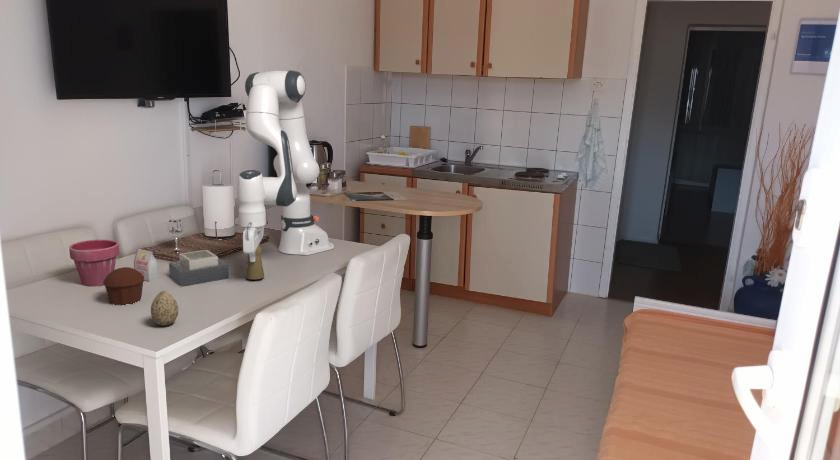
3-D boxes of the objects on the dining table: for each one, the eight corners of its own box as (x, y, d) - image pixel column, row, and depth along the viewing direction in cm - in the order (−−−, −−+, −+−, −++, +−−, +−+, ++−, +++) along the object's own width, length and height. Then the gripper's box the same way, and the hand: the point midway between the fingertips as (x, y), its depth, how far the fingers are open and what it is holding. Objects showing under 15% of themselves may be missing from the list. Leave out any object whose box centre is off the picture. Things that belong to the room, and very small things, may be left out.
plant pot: (99, 272, 212) (96, 236, 209) (131, 278, 208) (128, 242, 205) (62, 284, 200) (58, 246, 196) (95, 291, 195) (91, 253, 192)
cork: (266, 273, 215) (265, 243, 212) (261, 279, 209) (259, 248, 207) (249, 273, 216) (247, 242, 213) (243, 279, 210) (242, 248, 207)
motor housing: (215, 268, 221) (214, 247, 219) (229, 278, 212) (228, 256, 210) (169, 276, 211) (168, 254, 209) (181, 286, 202) (180, 263, 200)
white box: (143, 275, 212) (141, 247, 209) (158, 279, 209) (156, 250, 206) (134, 278, 208) (132, 250, 206) (149, 282, 206) (147, 253, 203)
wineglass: (173, 248, 244) (172, 218, 241) (187, 249, 243) (186, 219, 240) (166, 252, 238) (164, 222, 235) (180, 253, 237) (178, 223, 234)
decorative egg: (152, 331, 168) (149, 297, 166) (151, 321, 175) (148, 288, 172) (180, 327, 171) (178, 294, 169) (178, 318, 178) (176, 285, 175)
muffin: (117, 292, 195) (115, 262, 192) (152, 294, 195) (150, 264, 192) (97, 306, 183) (94, 274, 181) (134, 308, 183) (131, 276, 181)
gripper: (257, 227, 198) (259, 268, 201) (266, 212, 217) (267, 249, 221) (236, 227, 197) (239, 268, 201) (247, 212, 217) (249, 249, 220)
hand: (254, 258), depth 211 cm, fingers closed on cork, 4 cm apart
